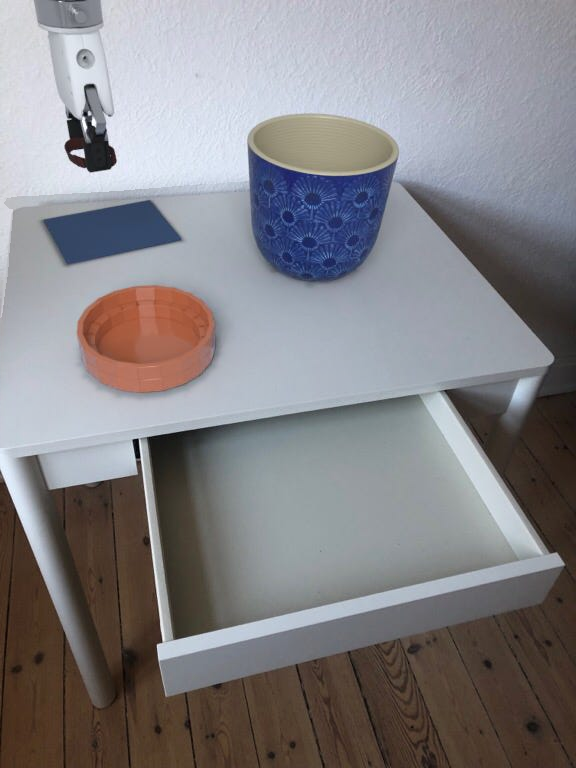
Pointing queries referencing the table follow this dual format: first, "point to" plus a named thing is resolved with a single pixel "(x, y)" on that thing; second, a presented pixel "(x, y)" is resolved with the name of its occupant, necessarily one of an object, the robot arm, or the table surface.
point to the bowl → (146, 338)
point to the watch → (78, 143)
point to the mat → (110, 231)
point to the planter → (318, 192)
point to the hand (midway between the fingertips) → (91, 157)
